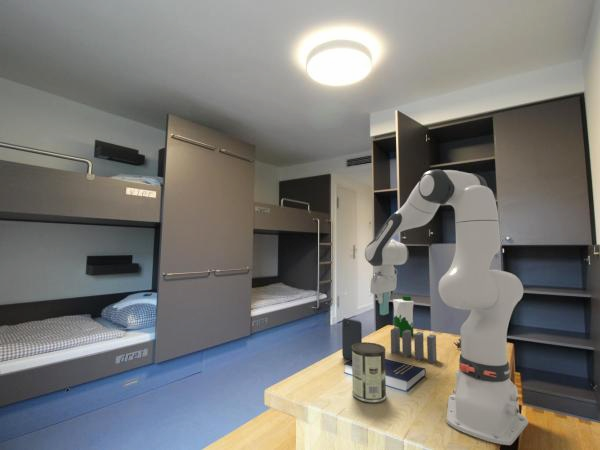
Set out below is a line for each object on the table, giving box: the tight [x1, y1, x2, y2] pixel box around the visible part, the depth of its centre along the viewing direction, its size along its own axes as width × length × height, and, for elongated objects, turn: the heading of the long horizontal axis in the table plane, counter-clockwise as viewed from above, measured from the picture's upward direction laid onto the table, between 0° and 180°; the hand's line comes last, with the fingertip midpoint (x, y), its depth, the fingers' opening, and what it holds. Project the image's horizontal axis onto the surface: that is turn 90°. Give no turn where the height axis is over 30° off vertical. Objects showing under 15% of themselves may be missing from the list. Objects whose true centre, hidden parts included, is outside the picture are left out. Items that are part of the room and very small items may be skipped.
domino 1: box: [379, 292, 390, 316], centre depth 132 cm, size 2×5×10 cm, turn 140°
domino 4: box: [413, 331, 425, 362], centre depth 121 cm, size 2×5×10 cm, turn 140°
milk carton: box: [392, 295, 415, 338], centre depth 154 cm, size 9×9×20 cm
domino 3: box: [401, 330, 413, 359], centre depth 124 cm, size 2×5×10 cm, turn 140°
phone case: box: [341, 317, 363, 361], centre depth 119 cm, size 9×2×16 cm, turn 46°
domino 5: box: [426, 333, 437, 365], centre depth 118 cm, size 2×5×10 cm, turn 140°
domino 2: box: [390, 327, 401, 356], centre depth 127 cm, size 2×5×10 cm, turn 140°
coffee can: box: [351, 341, 387, 403], centre depth 91 cm, size 10×10×14 cm
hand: (384, 302), depth 132 cm, fingers closed on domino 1, 5 cm apart
